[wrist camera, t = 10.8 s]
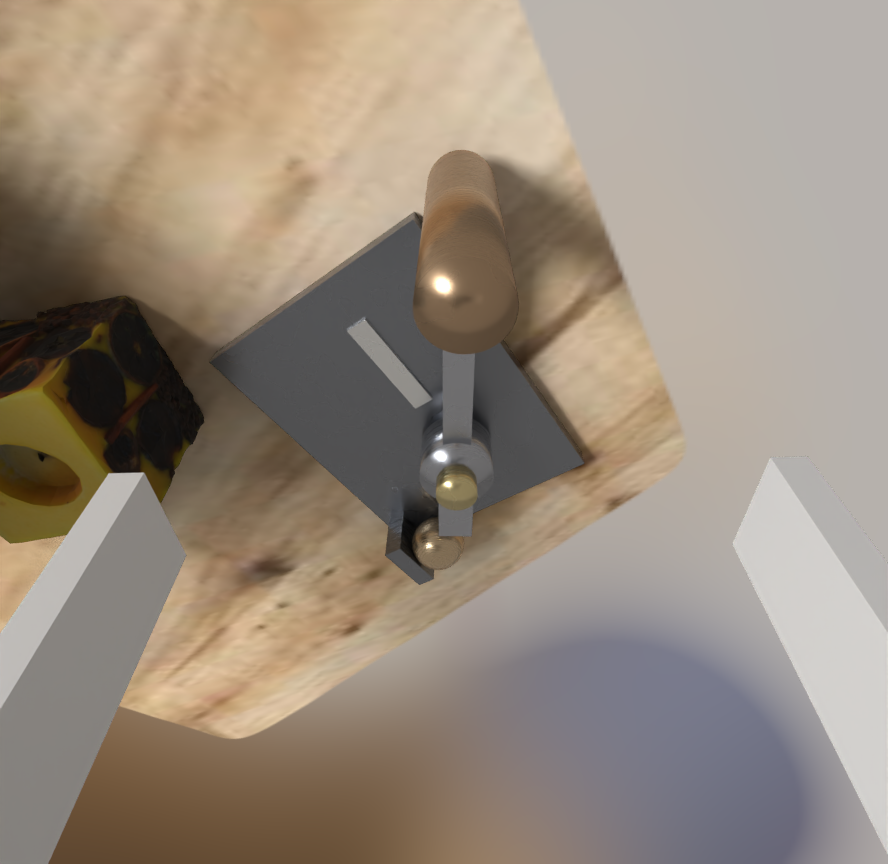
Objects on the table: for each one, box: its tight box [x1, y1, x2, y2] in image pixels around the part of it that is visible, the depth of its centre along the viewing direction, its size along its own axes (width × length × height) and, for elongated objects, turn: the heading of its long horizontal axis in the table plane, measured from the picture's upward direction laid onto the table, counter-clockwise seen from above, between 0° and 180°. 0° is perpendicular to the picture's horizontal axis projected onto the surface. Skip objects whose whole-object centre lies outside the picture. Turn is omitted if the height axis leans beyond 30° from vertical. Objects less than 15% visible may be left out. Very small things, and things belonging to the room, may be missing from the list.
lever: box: [413, 150, 519, 536], centre depth 30 cm, size 25×5×13 cm, turn 0°
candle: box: [0, 296, 204, 543], centre depth 34 cm, size 10×10×10 cm
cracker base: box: [210, 212, 584, 585], centre depth 37 cm, size 23×17×7 cm
